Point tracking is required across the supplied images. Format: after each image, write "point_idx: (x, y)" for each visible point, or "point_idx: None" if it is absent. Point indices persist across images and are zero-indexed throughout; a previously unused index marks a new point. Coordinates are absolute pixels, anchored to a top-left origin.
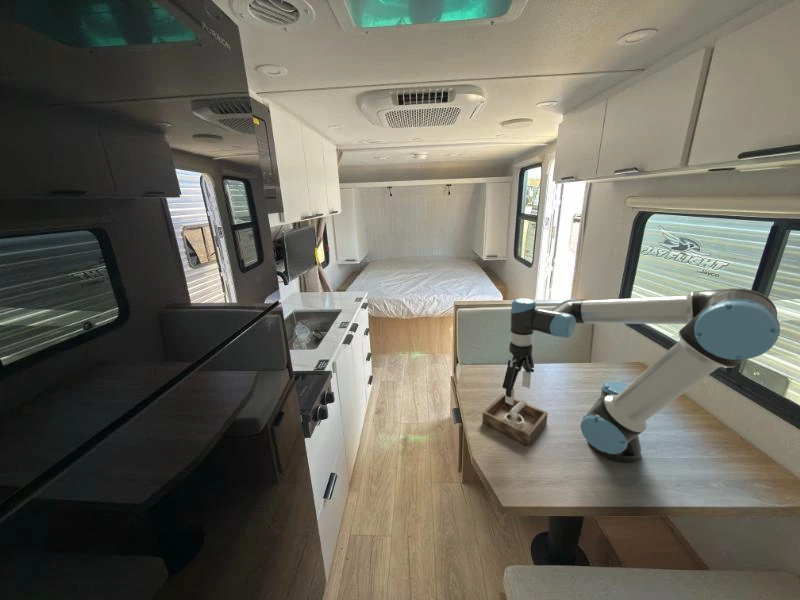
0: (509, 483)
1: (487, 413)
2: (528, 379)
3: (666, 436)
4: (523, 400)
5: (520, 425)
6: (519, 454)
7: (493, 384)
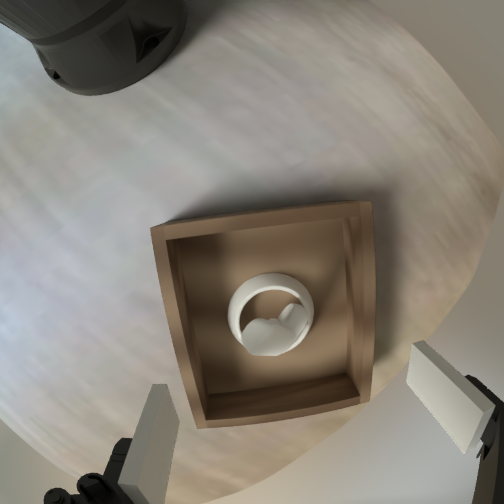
0: (479, 174)
1: (365, 389)
2: (154, 441)
3: None
4: (260, 345)
5: (286, 280)
6: (395, 204)
7: None
